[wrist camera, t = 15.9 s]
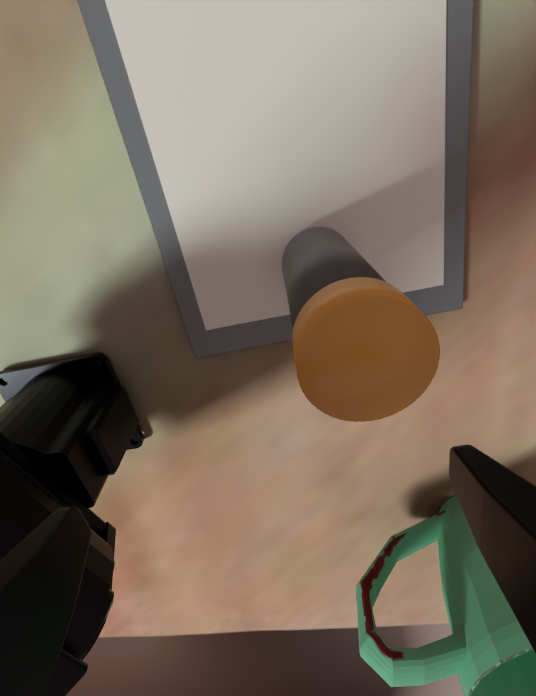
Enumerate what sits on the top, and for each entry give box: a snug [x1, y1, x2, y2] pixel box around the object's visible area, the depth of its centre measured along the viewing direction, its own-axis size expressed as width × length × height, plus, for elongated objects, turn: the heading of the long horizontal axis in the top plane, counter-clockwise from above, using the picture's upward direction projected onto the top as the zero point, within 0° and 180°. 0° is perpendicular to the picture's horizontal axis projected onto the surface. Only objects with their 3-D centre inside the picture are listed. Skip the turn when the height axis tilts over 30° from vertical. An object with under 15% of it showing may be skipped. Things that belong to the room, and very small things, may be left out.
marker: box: [282, 227, 440, 422], centre depth 14 cm, size 3×3×10 cm
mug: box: [356, 495, 536, 696], centre depth 23 cm, size 15×10×10 cm
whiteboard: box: [77, 0, 473, 358], centre depth 16 cm, size 14×18×2 cm
